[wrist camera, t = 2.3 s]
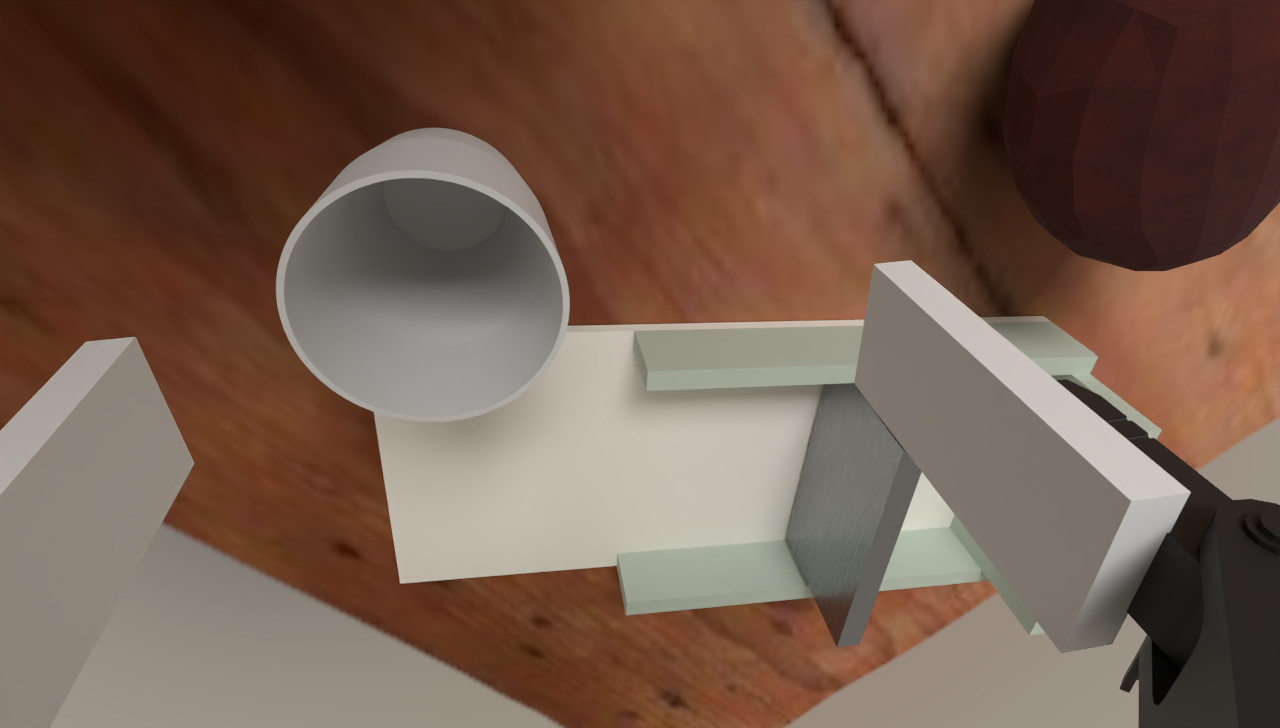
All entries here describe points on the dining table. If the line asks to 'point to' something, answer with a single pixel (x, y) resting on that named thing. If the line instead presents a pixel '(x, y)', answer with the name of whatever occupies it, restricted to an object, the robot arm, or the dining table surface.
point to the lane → (670, 466)
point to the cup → (425, 281)
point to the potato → (1147, 125)
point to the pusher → (849, 509)
